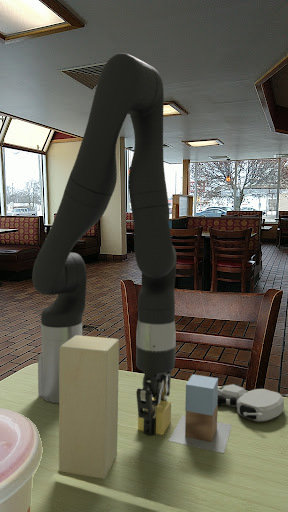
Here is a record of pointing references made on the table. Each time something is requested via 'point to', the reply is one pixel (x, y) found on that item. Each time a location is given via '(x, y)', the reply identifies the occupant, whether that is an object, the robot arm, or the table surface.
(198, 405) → the brick blue
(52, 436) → the table surface
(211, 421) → the brick walnut
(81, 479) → the table surface
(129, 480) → the table surface
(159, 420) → the yellow cube
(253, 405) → the robot toy
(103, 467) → the cream tall block
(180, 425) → the base plate
